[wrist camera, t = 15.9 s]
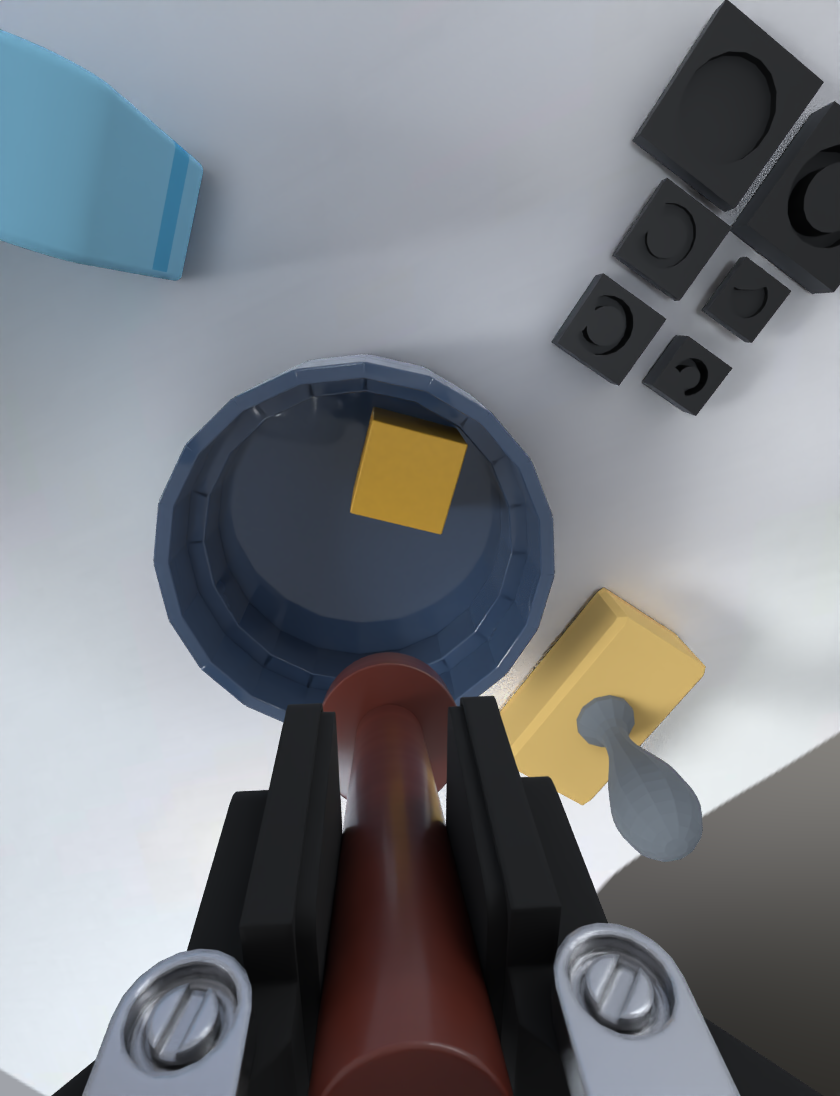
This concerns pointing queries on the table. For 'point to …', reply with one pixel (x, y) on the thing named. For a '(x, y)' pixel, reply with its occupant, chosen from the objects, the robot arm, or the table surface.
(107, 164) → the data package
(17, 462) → the table surface
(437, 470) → the block
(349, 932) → the red capped peg
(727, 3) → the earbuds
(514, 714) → the rubber stamp
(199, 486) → the bowl
